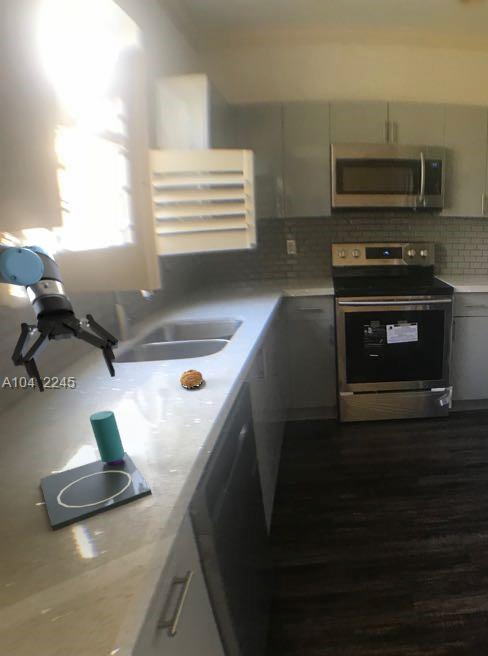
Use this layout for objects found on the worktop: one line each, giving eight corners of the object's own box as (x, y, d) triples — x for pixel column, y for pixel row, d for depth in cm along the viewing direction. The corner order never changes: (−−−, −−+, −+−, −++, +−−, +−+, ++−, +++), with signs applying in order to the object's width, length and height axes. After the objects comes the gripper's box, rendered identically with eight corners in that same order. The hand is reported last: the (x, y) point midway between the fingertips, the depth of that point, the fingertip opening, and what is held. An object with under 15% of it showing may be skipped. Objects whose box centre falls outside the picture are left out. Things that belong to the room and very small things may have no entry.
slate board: (41, 482, 93) (39, 478, 93) (127, 455, 103) (125, 451, 102) (53, 530, 79) (51, 525, 78) (151, 493, 88) (150, 489, 88)
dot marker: (100, 461, 99) (87, 415, 95) (123, 454, 101) (111, 408, 97) (105, 469, 96) (91, 421, 92) (128, 461, 98) (116, 415, 94)
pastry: (205, 387, 141) (203, 376, 140) (181, 391, 139) (179, 380, 137) (202, 378, 149) (200, 367, 148) (180, 382, 147) (177, 371, 145)
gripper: (-22, 302, 97) (4, 387, 91) (111, 288, 111) (140, 360, 106) (-14, 323, 102) (11, 403, 97) (111, 306, 117) (139, 376, 112)
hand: (78, 381), depth 101 cm, fingers open, 13 cm apart
